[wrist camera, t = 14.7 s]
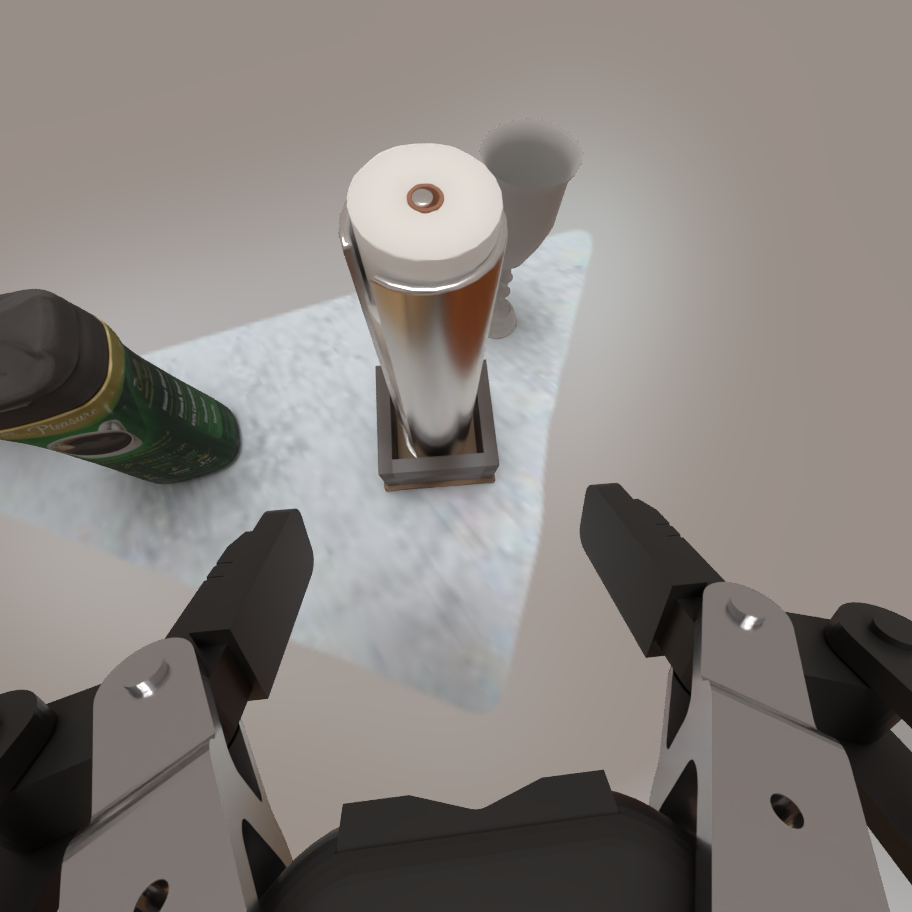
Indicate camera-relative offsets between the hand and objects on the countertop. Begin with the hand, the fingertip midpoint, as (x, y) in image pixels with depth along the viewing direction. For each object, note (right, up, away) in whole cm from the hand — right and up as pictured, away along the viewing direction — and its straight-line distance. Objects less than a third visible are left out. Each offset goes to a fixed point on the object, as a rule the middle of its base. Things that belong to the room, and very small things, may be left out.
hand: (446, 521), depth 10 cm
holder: (-2, +4, +27) cm, 28 cm away
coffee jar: (-27, +3, +27) cm, 38 cm away
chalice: (+5, +18, +32) cm, 37 cm away
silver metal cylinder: (-2, +4, +27) cm, 27 cm away
